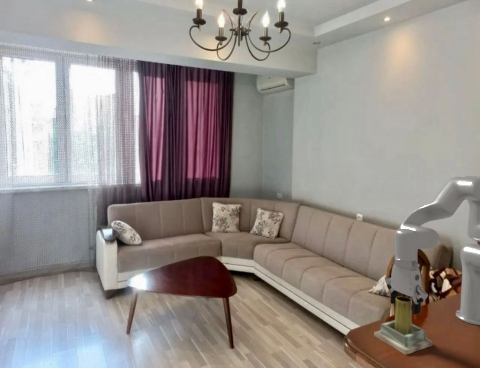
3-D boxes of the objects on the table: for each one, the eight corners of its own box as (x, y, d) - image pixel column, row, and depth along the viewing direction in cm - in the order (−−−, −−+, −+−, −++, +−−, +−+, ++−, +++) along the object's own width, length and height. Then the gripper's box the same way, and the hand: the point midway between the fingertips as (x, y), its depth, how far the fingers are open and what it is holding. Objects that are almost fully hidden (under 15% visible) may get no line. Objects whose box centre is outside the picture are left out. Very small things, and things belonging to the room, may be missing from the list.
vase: (414, 341, 125) (414, 302, 123) (396, 339, 126) (396, 301, 125) (409, 332, 130) (410, 296, 129) (392, 331, 132) (392, 295, 131)
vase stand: (400, 327, 137) (400, 315, 137) (432, 345, 125) (433, 332, 124) (374, 335, 131) (374, 323, 131) (405, 354, 119) (406, 341, 118)
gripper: (434, 268, 119) (433, 315, 121) (393, 255, 135) (392, 297, 137) (419, 272, 116) (418, 320, 118) (379, 258, 132) (379, 301, 134)
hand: (404, 308), depth 127 cm, fingers open, 9 cm apart
